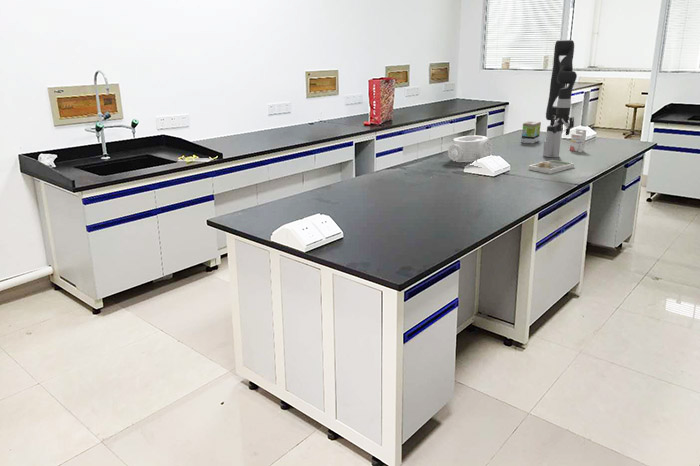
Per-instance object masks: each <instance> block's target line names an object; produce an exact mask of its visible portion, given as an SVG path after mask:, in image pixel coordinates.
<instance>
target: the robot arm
mask: <svg viewBox="0 0 700 466" xmlns="http://www.w3.org/2000/svg"><path fill="white" fill-rule="evenodd" d="M553 51H554V52H553V64H552V65H553V66H552V71H551V79H550V85H549V86H550V87H549V94H548V95H549V96H548V100H547V101H548V102H547V106H546V110H545V111H546V112H545V119H546V120H547V121H550V124H549V125H548V126H546V136H545V141H544V144H543V153H542V155H543V157H546V158H558V157H559V156H560V149H561V139H562V138H561V137H562V129H563V125H564V126H565V127H566V128H565V136H569V134H570V131H571V129H572V128H574V125H575V117H570V114H571V107H572V106H571V105H572V93H573V88H574V85H575V83H576V81H577V79H578V78H577V77H578V75H577V73H576V71H574V68H573V59H574V54H575V42H574V40H572V39H558V40H556V42H555V43H554V50H553ZM560 56H561V57H563V58H562V59H560ZM560 60H561V61H560ZM567 85H568V86H567ZM556 100H557V102H556ZM555 102H556V103H557V104H556V105H555Z"/></svg>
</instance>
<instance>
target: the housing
mask: <svg viewBox="0 0 700 466" xmlns="http://www.w3.org/2000/svg"><path fill="white" fill-rule="evenodd" d="M493 151H494V147H493V142H492V141H491V140H490V139H489V138H488V137H487V136H484V135H464V136H458V137H454V138H452V144H451V145H450V146H449V147H448V149H447V156H448V157H449V159H450V160H451V161H452V162H455V161H456V163H461V162H465V163H473V162H472V161H475V160H477V159H480V158H483V157H486V156H490V155H491V156H492V154H493Z"/></svg>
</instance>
